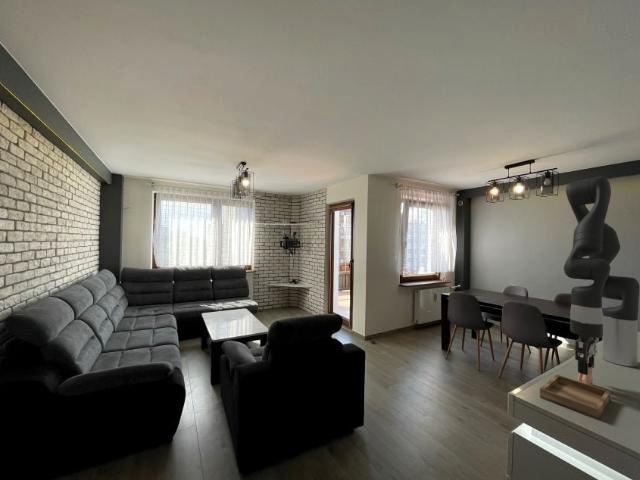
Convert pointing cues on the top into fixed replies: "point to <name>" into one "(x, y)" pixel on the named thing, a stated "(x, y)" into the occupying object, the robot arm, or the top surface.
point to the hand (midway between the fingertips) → (586, 370)
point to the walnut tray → (576, 396)
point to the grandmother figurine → (588, 377)
